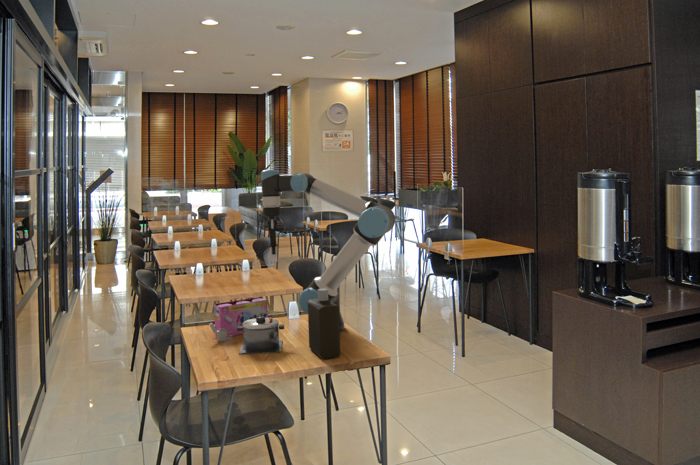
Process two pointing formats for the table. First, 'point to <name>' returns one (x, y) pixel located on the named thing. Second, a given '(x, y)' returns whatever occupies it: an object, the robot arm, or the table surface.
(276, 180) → the robot arm
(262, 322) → the lid
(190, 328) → the table surface
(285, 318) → the table surface
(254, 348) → the pot
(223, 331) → the lighter
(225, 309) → the gum box
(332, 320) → the bottle
